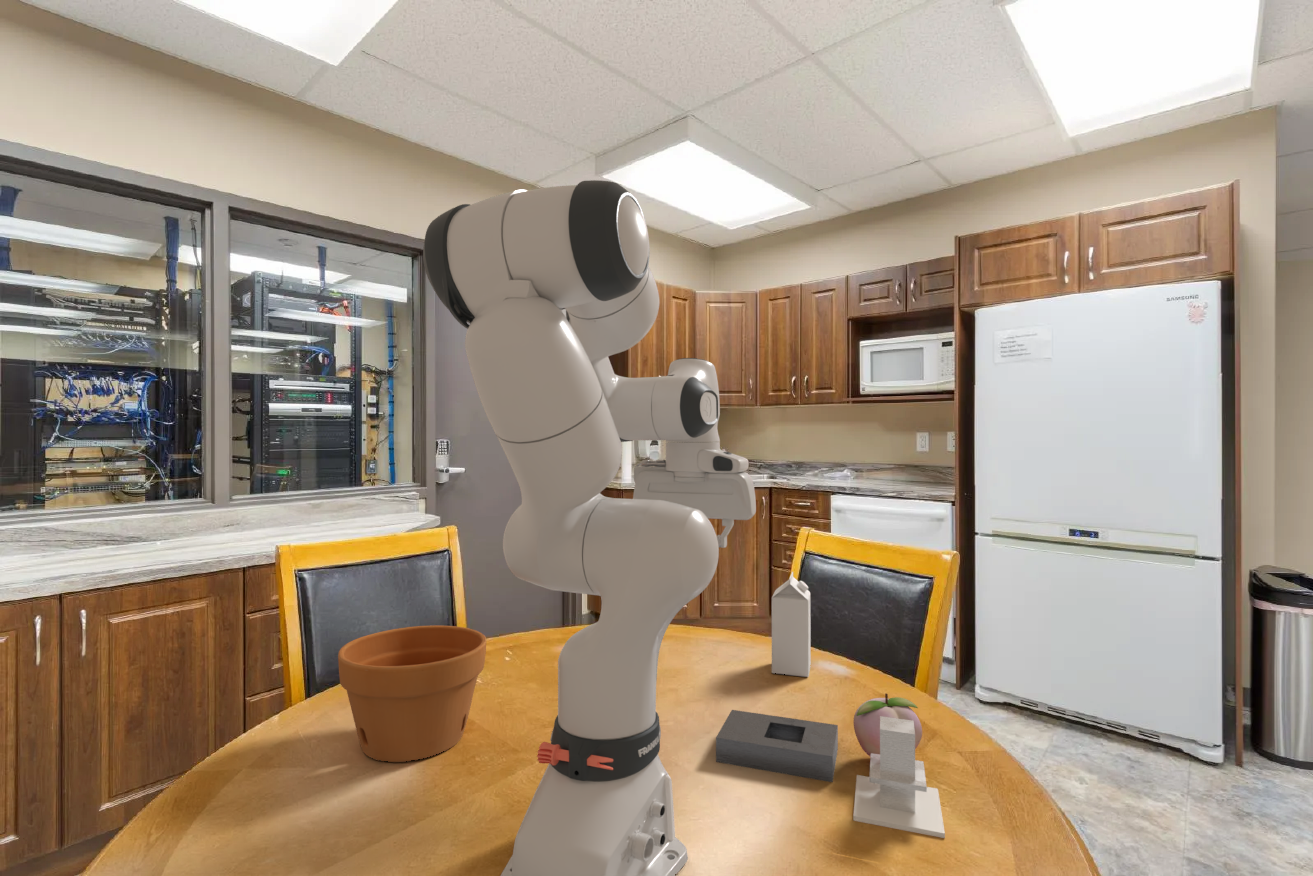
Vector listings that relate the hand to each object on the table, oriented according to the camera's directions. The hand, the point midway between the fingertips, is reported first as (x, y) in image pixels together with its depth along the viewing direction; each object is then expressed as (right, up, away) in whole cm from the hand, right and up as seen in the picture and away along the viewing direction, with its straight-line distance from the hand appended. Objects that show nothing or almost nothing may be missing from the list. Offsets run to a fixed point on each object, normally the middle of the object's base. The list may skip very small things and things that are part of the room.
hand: (693, 545), depth 102 cm
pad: (+24, -29, -24) cm, 44 cm away
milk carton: (+21, -29, +24) cm, 43 cm away
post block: (+12, -29, -11) cm, 33 cm away
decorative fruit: (+26, -29, -13) cm, 41 cm away
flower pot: (-43, -29, -6) cm, 52 cm away
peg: (+24, -28, -24) cm, 44 cm away
